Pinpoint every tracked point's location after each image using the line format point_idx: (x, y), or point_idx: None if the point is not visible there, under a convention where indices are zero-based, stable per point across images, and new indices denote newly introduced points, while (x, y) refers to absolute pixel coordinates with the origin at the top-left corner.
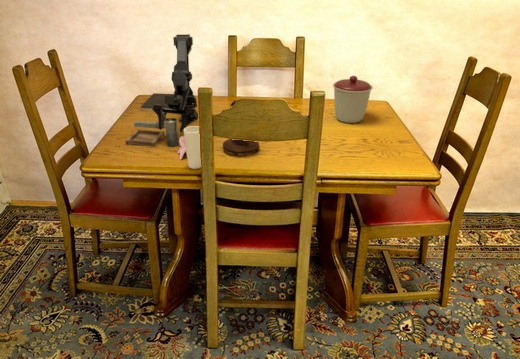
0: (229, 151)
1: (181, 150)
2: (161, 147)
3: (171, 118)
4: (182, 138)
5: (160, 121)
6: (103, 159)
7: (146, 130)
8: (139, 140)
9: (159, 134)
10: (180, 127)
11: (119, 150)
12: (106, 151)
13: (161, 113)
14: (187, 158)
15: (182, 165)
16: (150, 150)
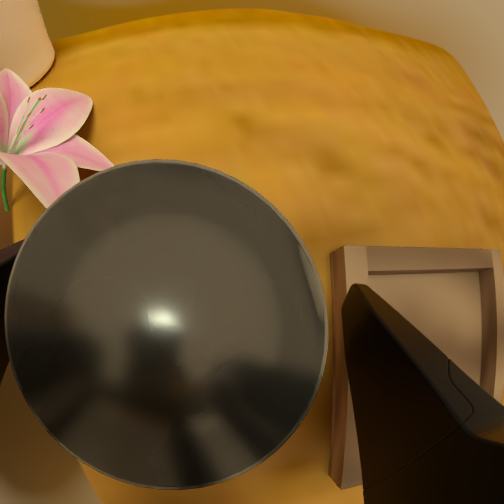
0: None
1: (77, 147)
2: None
3: (165, 443)
4: (37, 178)
5: (412, 350)
6: (453, 92)
7: None
8: (448, 264)
9: None
10: (8, 258)
11: (466, 175)
12: (493, 164)
13: (497, 482)
14: (43, 22)
15: (80, 59)
16: (326, 185)
